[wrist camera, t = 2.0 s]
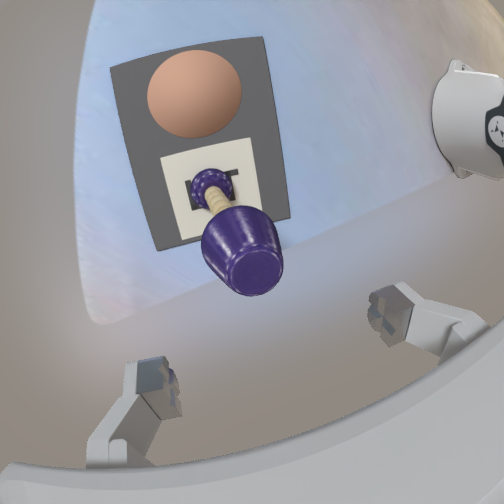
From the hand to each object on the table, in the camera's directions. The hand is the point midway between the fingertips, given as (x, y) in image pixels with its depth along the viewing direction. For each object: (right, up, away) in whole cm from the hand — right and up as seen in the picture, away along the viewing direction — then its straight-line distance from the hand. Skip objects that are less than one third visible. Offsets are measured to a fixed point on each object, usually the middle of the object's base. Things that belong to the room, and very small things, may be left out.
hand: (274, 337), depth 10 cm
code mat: (-5, +14, +16) cm, 22 cm away
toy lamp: (-5, +10, +18) cm, 21 cm away
